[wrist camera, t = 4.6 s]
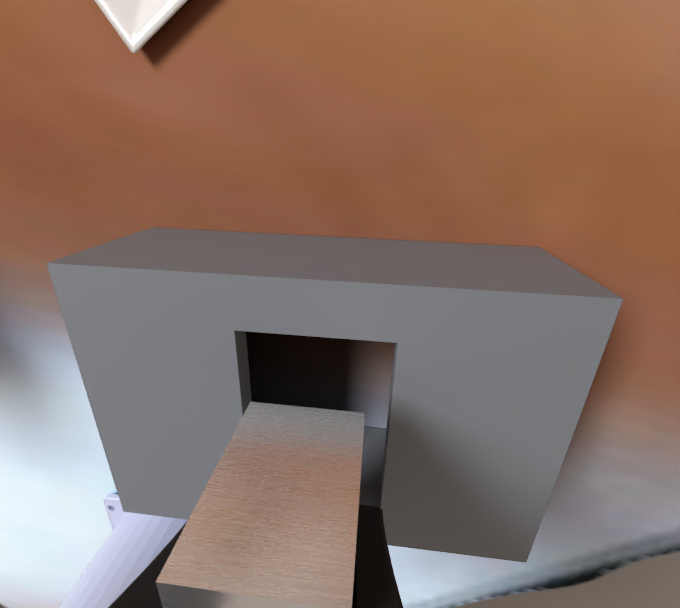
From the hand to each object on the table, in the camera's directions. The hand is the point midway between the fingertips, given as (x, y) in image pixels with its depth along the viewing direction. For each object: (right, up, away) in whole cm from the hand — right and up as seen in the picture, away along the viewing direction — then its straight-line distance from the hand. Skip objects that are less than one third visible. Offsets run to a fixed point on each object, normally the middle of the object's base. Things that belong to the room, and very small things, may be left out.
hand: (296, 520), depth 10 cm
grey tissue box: (+1, +4, +9) cm, 9 cm away
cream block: (0, 0, +2) cm, 2 cm away
